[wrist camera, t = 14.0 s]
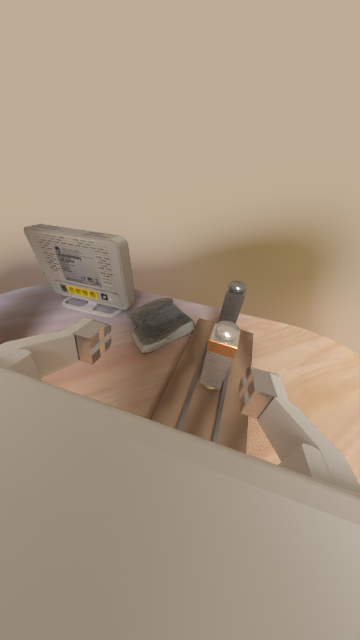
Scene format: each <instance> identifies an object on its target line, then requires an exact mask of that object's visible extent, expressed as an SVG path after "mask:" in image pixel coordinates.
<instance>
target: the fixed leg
mask: <svg viewBox="0 0 360 640" xmlns="http://www.w3.org/2000/svg"><path fill="white" fill-rule="evenodd" d="M245 295H246V284H245V283H243V282H240V281H232V282H231V283H230V284H229V286H228V288H227V291H226V295H225V299H224V303H223V306H222V310H221V314H220V317H219V321H218V322H220V321H230V322H233V323H234V324H235V323H236V321H237V318H238V315H239V312H240V309H241V307H242V304H243V301H244V298H245Z"/></svg>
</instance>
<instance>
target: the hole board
mask: <svg viewBox="0 0 360 640" xmlns="http://www.w3.org/2000/svg"><path fill="white" fill-rule="evenodd" d="M214 324H215V323H214V322H210V321H207V320H203V319H200V318H199V320H198V322H197V325H196V327H195V329H194V331H193V333H192V335H191V337H190V339H189V341H188V343H187V345H186V348H185V350H184V352H183V354H182V356H181V358H180V360H179V362H178V364H177V366H176V368H175V371H174V373H173V375H172V377H171V379H170V381H169V383H168V385H167V387H166V389H165V391H164V393H163V396H162V398H161V400H160V402H159V404H158V406H157V408H156V410H155V412H154V414H153V416H152V419H151V420H152V421H155V422H158V423H161V424H164V425H166V426H169V427H172V428H175V429H178V430H181V431H183V432H186V433H189V434H192V435H195V436H197V437H200V438H203V439H206V440H209V441H211V442H214V443H217V444H220V445H223V446H226V447H228V448H231V449H234V450H237V451H240V452H242V453H245V454H246V443H247V427H248V416H247V415H244V414H241V413H240V402H239V401H240V400H241V396H240V395H239V383H240V380H241V378H242V377H243V376H245V375H246V374H245V371H246V369H247V368H248V367H251V361H252V345H253V333H250V332H246V331H243V330H240V337H239V344H238V350H237V352H236V354H235V357H234V359H232V362H231V364H230V366H229V369H228V371H227V374H226V376H225V378H224V381H223V383H222V386H221V388H220V390H218V389H215V388H213V387H210V386H207V385H205V384H202V383H199V382H200V378H201V374H202V370H203V366H204V362H205V358H206V354H207V346H208V342H209V339H210V336H211V333H212V330H213V327H214Z"/></svg>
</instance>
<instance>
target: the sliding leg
mask: <svg viewBox="0 0 360 640" xmlns="http://www.w3.org/2000/svg"><path fill="white" fill-rule="evenodd" d="M239 337H240V330H239V328H238V326H237V325H236V324H234V323H233V322H230V321H220V322H218V323H215V324H214V327H213V330H212V333H211V336H210V339H209V342H208V346H207V354H206V358H205V362H204V366H203V370H202V374H201V378H200V382H199V383H202V384H205V385H207V386H210V387H213V388H215V389H218V390H220V388H221V386H222V383H223V381H224V378H225V376H226V374H227V371H228V369H229V366H230V364H231V362H232V359H234V357H235V354H236V352H237V350H238V344H239Z"/></svg>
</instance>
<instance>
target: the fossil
mask: <svg viewBox="0 0 360 640" xmlns="http://www.w3.org/2000/svg"><path fill="white" fill-rule="evenodd" d="M127 316H128V317H129V318H130V319H132V320H134V321H136V322H137V323H138V324H139V325H138V327H137V328H136V329H135V330H134V331H133V333H132V337H133V338H134V340H135V344H136V346H137V347H138V348H139V349H140V351H141V352H142V353H148V352H152V351H154V350H156V349H158V348H160V347H162V346H164V345H166V344H168V343H171V342H173V341H175V340H176V339H179V338H181V337H183V336H186V335H188V334H190V333H192V332H193V331H194V329H195V327H194V322H193V320H192V319H190V318H189V317H188V316H187V315H185V314H184V313H183V312H182V311H181V310H180V309H179V308H178V307H177V306H176V305H174V304H173V300H172V299H171V298H163V299H157V300H155V301H153V302H151V303H148V304H146V305H144V306H142V307H138V308H136V309H135V310H133V311H132V312H130V313H129V314H127Z"/></svg>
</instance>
